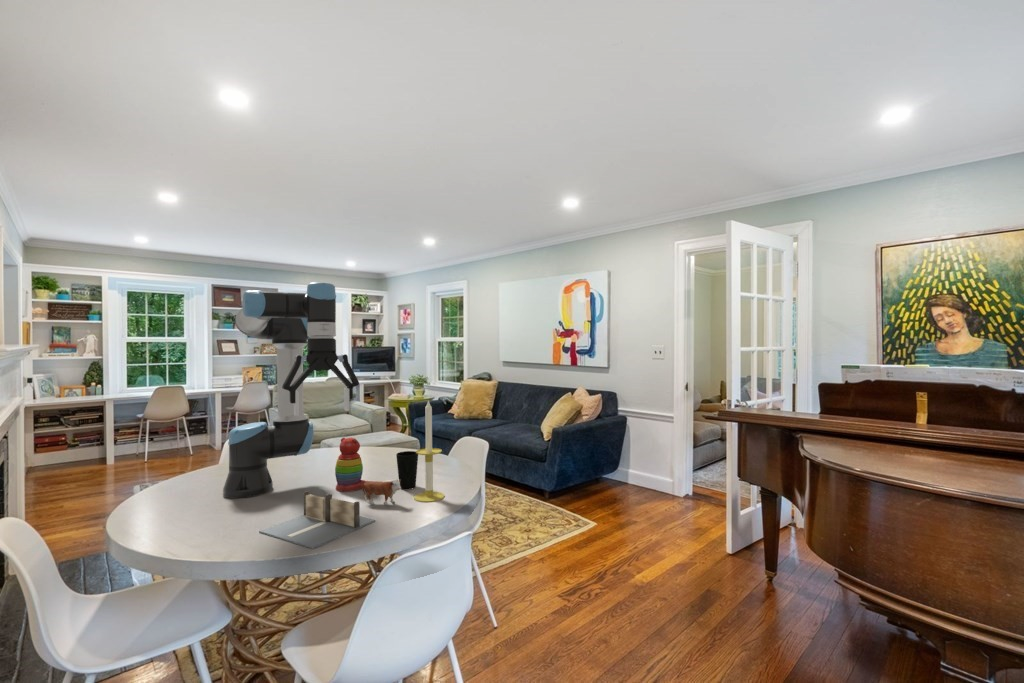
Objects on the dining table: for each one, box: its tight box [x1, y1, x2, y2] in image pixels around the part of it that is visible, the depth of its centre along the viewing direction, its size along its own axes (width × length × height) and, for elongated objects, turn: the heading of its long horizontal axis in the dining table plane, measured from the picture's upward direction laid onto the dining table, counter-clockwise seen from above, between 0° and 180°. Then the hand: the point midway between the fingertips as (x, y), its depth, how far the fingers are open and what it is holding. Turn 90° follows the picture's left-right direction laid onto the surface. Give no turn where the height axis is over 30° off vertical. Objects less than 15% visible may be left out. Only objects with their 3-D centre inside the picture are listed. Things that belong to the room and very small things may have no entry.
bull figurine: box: [362, 478, 402, 506], centre depth 151 cm, size 4×13×8 cm, turn 78°
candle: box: [413, 399, 445, 503], centre depth 157 cm, size 10×10×32 cm
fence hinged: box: [330, 498, 361, 527], centre depth 132 cm, size 11×1×7 cm, turn 60°
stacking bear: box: [334, 437, 366, 493], centre depth 168 cm, size 11×10×18 cm
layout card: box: [258, 514, 376, 550], centre depth 132 cm, size 22×21×1 cm
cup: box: [396, 450, 419, 490], centre depth 168 cm, size 8×8×12 cm
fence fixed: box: [303, 490, 333, 522], centre depth 138 cm, size 11×2×7 cm, turn 60°
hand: (322, 413), depth 133 cm, fingers open, 13 cm apart
